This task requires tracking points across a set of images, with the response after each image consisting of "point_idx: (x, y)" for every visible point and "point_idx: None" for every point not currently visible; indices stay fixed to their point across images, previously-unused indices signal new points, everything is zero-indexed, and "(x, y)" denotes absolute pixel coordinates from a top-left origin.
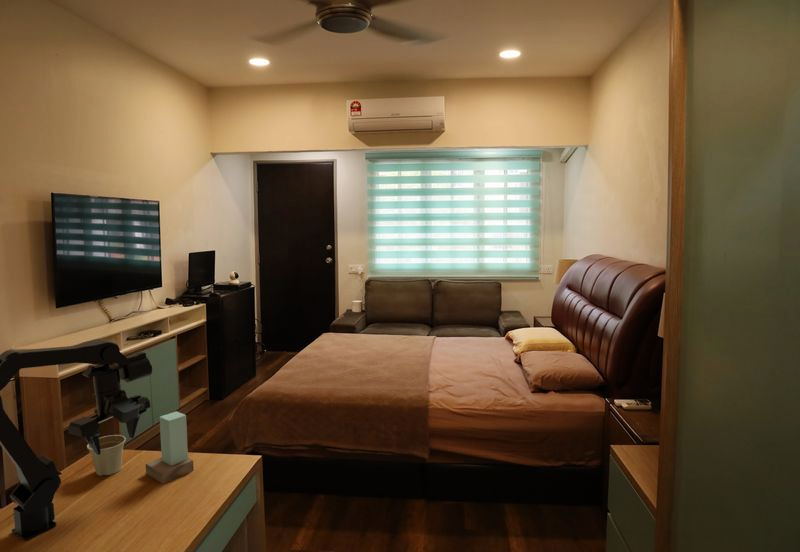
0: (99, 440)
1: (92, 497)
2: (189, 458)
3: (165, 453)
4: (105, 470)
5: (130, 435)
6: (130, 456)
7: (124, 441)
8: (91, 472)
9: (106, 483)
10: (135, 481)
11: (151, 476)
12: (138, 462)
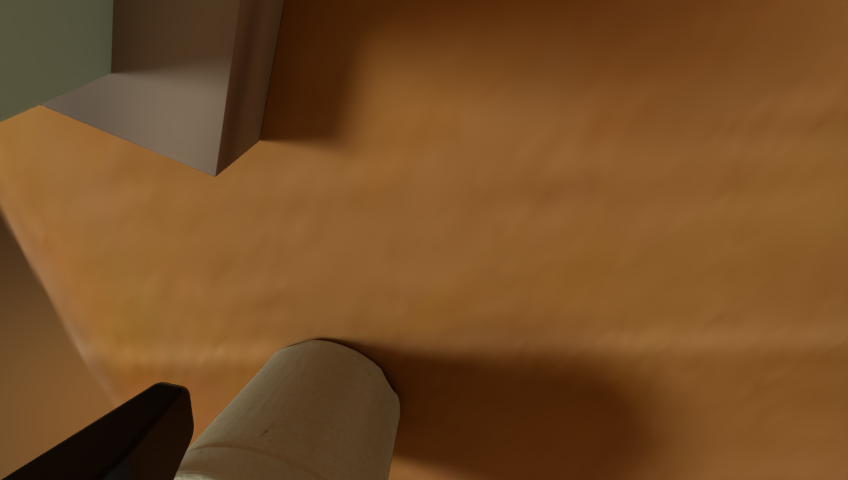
0: None
1: (647, 277)
2: None
3: (37, 20)
4: (377, 399)
5: (168, 453)
6: None
7: None
8: None
9: (459, 312)
10: (369, 138)
11: (270, 62)
12: (182, 297)
